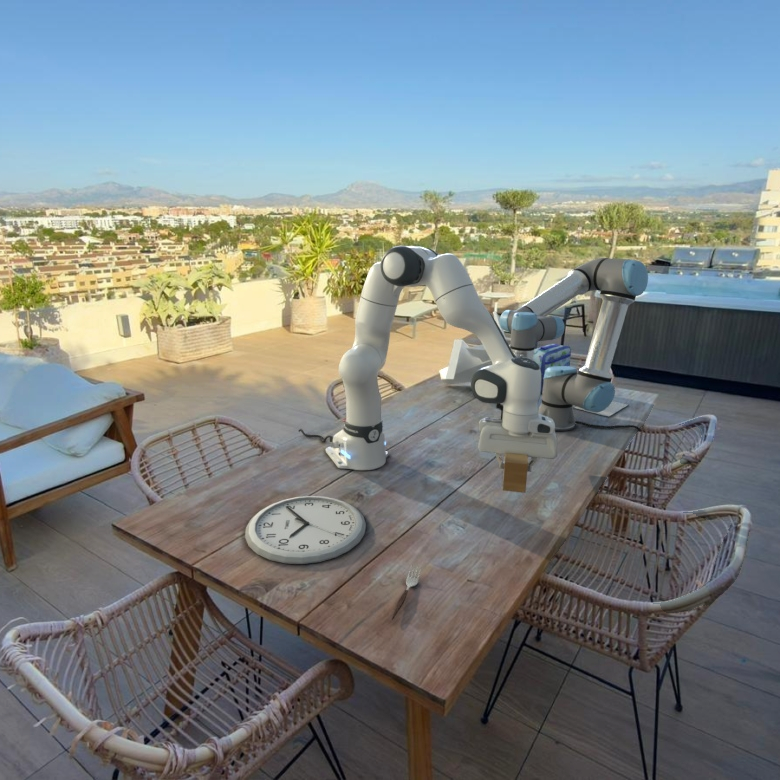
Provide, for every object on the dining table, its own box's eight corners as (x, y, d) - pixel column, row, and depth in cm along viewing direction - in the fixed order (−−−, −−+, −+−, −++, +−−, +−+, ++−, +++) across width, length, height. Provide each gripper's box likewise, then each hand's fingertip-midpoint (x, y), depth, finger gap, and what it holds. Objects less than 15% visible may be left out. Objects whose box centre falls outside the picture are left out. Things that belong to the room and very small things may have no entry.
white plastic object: (461, 429, 252) (437, 405, 227) (444, 352, 274) (420, 323, 250) (535, 404, 240) (518, 377, 215) (510, 326, 262) (492, 293, 237)
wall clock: (368, 555, 118) (233, 560, 116) (368, 561, 119) (233, 566, 116) (363, 491, 147) (255, 494, 144) (363, 496, 147) (255, 499, 145)
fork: (385, 619, 101) (385, 611, 101) (410, 571, 116) (411, 563, 115) (398, 623, 100) (398, 614, 100) (422, 574, 115) (422, 566, 114)
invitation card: (608, 416, 214) (573, 407, 224) (608, 416, 214) (573, 408, 224) (628, 404, 229) (594, 396, 238) (628, 405, 229) (594, 397, 238)
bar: (506, 422, 181) (507, 401, 179) (522, 424, 180) (524, 402, 177) (502, 490, 133) (505, 461, 131) (525, 493, 132) (528, 464, 130)
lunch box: (542, 396, 239) (547, 351, 232) (522, 391, 246) (526, 347, 240) (570, 385, 256) (575, 343, 250) (550, 380, 263) (554, 339, 257)
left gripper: (478, 421, 134) (474, 469, 138) (561, 428, 130) (555, 478, 134) (479, 412, 140) (476, 460, 144) (559, 420, 136) (553, 468, 140)
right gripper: (490, 362, 164) (485, 430, 171) (552, 366, 161) (544, 436, 168) (491, 356, 171) (486, 422, 178) (550, 360, 168) (543, 428, 175)
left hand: (515, 469), depth 139 cm, fingers closed on bar, 5 cm apart
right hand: (514, 429), depth 173 cm, fingers closed on bar, 6 cm apart
